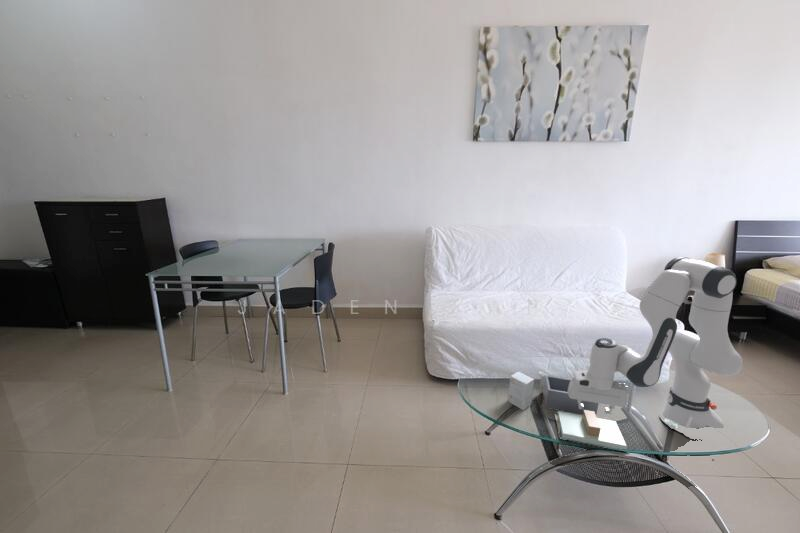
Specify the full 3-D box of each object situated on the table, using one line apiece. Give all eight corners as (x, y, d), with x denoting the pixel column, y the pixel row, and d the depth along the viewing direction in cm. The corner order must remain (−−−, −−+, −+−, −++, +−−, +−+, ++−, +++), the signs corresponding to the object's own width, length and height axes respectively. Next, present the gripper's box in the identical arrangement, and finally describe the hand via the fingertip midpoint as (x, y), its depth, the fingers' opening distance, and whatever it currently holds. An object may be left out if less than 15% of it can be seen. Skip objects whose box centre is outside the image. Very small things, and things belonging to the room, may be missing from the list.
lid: (614, 425, 144) (617, 412, 143) (625, 450, 132) (628, 436, 130) (557, 415, 150) (559, 402, 148) (562, 438, 137) (564, 424, 136)
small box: (531, 404, 157) (534, 379, 153) (523, 410, 153) (526, 384, 149) (515, 395, 163) (518, 370, 159) (507, 401, 159) (510, 375, 155)
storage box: (589, 400, 161) (592, 382, 159) (595, 417, 150) (599, 398, 147) (542, 391, 166) (545, 374, 164) (545, 407, 155) (548, 389, 153)
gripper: (627, 379, 135) (621, 410, 139) (569, 371, 140) (564, 401, 144) (633, 389, 129) (626, 421, 133) (572, 380, 134) (567, 411, 138)
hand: (593, 410), depth 138 cm, fingers open, 8 cm apart
